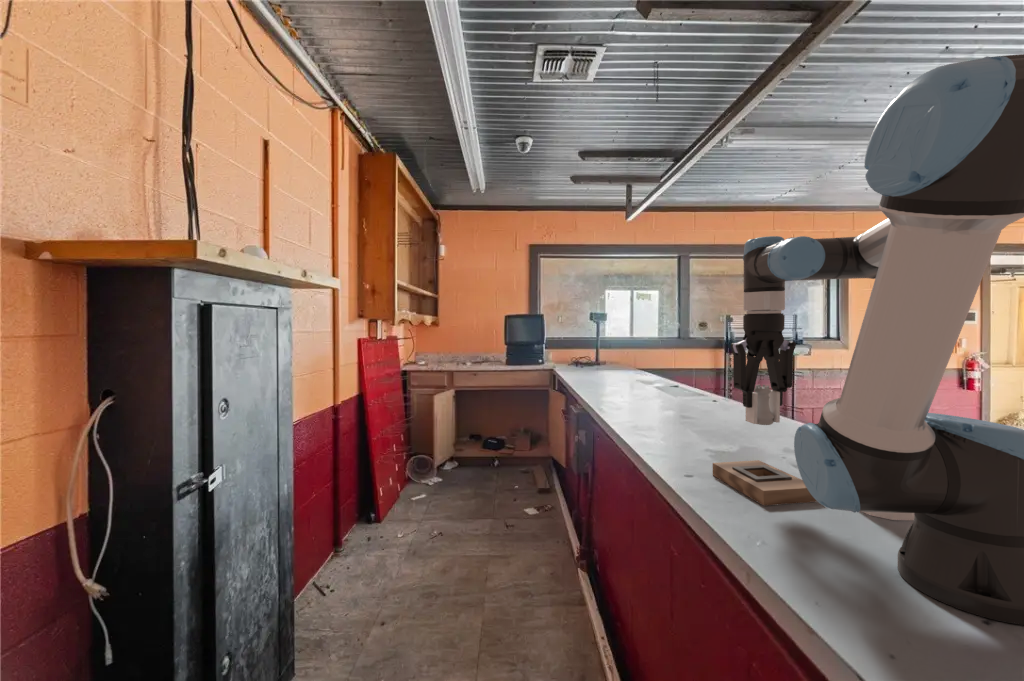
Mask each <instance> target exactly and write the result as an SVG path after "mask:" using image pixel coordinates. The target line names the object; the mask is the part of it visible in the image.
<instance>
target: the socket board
mask: <svg viewBox="0 0 1024 681" xmlns="http://www.w3.org/2000/svg"><path fill="white" fill-rule="evenodd" d="M712 476H713V477H715V478H717V479H719V480H720V481H722V482H723V483H725V484H727V485H728V486H730V487H731V488H734V489H735V490H737V491H738V492H740V493H742V494H744V495H745V496H747V497H749V498H750V499H752V500H753V501H755V502H757V503H759V504H760V505H762V506H773V505H774V506H775V505H776V506H777V504H778V505H791V504H805V503H819V502H818V501H816V500H815V499H814V498H813V496H812V495H811V494H810V492H809V491H808V489H807V488H806V486H805V484H804V482H803V480H802V478H799V477H797V476H795V475H792V474H790V473H788V472H785V471H784V470H782V469H779V468H777V467H774V466H773V465H770V464H768V463H766V462H763V461H762V460H758V459H757V460H756V459H755V460H754V459H753V460H742V461H741V460H740V461H739V460H738V461H723V462H712Z"/></svg>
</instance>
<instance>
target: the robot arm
mask: <svg viewBox="0 0 1024 681" xmlns="http://www.w3.org/2000/svg"><path fill="white" fill-rule="evenodd" d="M871 133H872V134H871V135H870V139H869V141H868V142H867V143H868V144H867V147H866V151H865V152H866V153H865V156H864V169H865V170H867V172H866V173H865V180H866V182H867V184H868V186H869V188H870V189H871V190H872V191H874V192H876V193H877V194H879V195H881V197H880V201H879V206H878V208H879V210H880V211H881V212H882V213H883V214H884V215H885V217H886V219H884V220H882V221H881V222H879V223H878V224H876V225H874V226H873V227H871V228H869V229H868V230H866V231H864V232H862V233H861V234H858V235H856V236H846V237H845V236H843V237H842V236H841V237H828V238H826V237H823V238H813V237H811V236H805V235H804V236H803V235H802V236H801V235H800V236H795V237H788V238H784V237H782V236H778V235H777V236H776V235H773V236H761V237H756V238H751V239H750V238H749V239H748V240H747V241H746V242H745V243H744V248H743V255H742V261H743V311H744V312H746V313H745V314H743V317H742V318H743V320H742V321H743V322H742V323H743V325H742V328H743V331H744V336H743V338H742V340H741V341H738V342H731V344H730V349H731V351H732V354H733V355H732V356H733V358H732V359H733V361H732V363H733V364H732V365H733V388H734V389H737V390H740V391H741V392H742V406H743V407H745V422H748V423H751V424H753V425H758V424H757V404H758V393H756V392H755V391H754V389H755V388H756V385H757V384H756V383H757V379H758V374H759V369H760V364H761V362H762V361H763V359H764V361H765V363H766V369H767V372H768V377H769V382H770V383H769V384H770V388H771V389H770V390H771V392H770V393H769V397H770V398H769V408H770V411H771V414H772V415H773V417H774V418H773V419H772V420H773V421H774V422H773V423H778V424H779V423H781V421H780V420H781V418H780V417H781V410H780V409H781V407H782V406H783V404H784V403H783V402H784V401H783V399H784V398H783V397H784V393H785V392H787V391H788V389H791V388H792V387H793V376H794V375H793V373H794V372H793V370H794V368H793V367H794V351H795V350H796V346H797V343H796V342H795V341H790V340H786V339H785V338H784V335H783V331H784V330H785V317H786V316H785V314H784V313H782V311H784V310H785V309H786V282H791V281H792V282H793V281H817V280H818V281H819V280H823V281H824V280H847V279H849V280H850V279H854V280H855V279H856V280H857V279H872V280H874V282H873V285H872V289H871V293H870V296H869V299H868V302H867V306H866V310H865V313H864V316H863V320H862V323H861V326H860V329H859V333H858V337H857V339H856V343H855V347H854V349H853V354H852V357H851V360H850V363H849V368H848V370H847V374H846V377H845V382H844V384H843V388H842V391H841V393H840V397H839V398H835V399H831V400H829V401H827V402H826V404H824V406H823V408H822V411H821V414H820V418H819V422H817V423H813V422H808V423H804V424H802V425H799V426H798V427H797V429H796V431H795V434H794V439H793V440H794V441H793V450H794V457H795V462H796V465H797V468H798V471H799V475H800V477H801V478H800V479H801V480H803V482H804V484H805V486H806V488H807V489H808V491H809V492H810V494H811V495H812V496H813V498H814V499H815V500H816V501H818V502H817V503H819V504H820V505H821V506H822V507H823V506H824V508H828V509H832V510H839V511H844V512H845V511H846V512H851V513H860V512H861V513H864V512H893V513H914V520H912V524H911V525H910V527H909V529H908V531H907V533H906V535H905V538H904V539H903V542H902V544H901V546H900V548H899V549H898V552H897V572H898V573H899V576H901V577H902V578H903V580H904V581H905V582H907V583H908V584H909V585H911V586H912V587H913V588H915V589H917V590H919V591H920V592H922V593H923V594H925V595H927V596H928V597H930V598H933V599H935V600H937V601H939V602H941V603H943V604H946V605H948V606H951V607H953V608H956V609H958V610H961V611H964V612H966V613H969V614H972V615H975V616H979V617H983V618H985V619H990V620H994V621H998V622H1002V623H1003V622H1004V623H1009V624H1013V625H1021V626H1024V429H1022V428H1019V427H1016V426H1012V425H1008V424H1003V423H998V422H997V423H996V422H994V421H989V420H988V421H987V420H981V419H978V418H977V419H976V418H970V417H963V416H957V415H951V414H946V413H945V414H943V413H937V412H936V413H935V412H929V411H930V409H931V406H932V403H933V402H934V399H935V396H936V394H937V392H938V390H939V386H940V383H941V381H942V380H943V377H944V374H945V372H946V369H947V367H948V364H949V361H950V359H951V357H952V355H953V352H954V349H955V347H956V345H957V341H958V339H959V337H960V334H961V331H962V329H963V327H964V324H965V322H966V320H967V317H968V314H969V313H970V310H971V307H972V304H973V302H974V299H975V297H976V294H977V293H978V289H979V288H980V284H981V282H982V279H983V278H984V275H985V272H986V269H987V268H988V265H989V262H990V260H991V258H992V255H993V252H994V250H995V247H996V245H997V243H998V241H999V238H1000V235H1001V233H1002V231H1003V230H1004V229H1005V228H1006V227H1008V226H1009V225H1011V224H1013V223H1015V222H1018V221H1019V220H1021V219H1024V53H1023V54H1019V53H1018V54H1010V55H1009V54H1008V55H996V56H987V55H986V56H984V57H981V58H977V59H971V60H965V61H959V62H952V63H949V64H944V65H941V66H940V65H939V66H938V67H935V68H932V69H930V70H928V71H926V72H924V73H922V74H921V75H919V76H917V77H916V78H915V79H914V80H912V81H911V82H910V83H909V84H907V85H905V87H903V89H902V90H901V91H900V93H899V94H898V95H897V96H896V97H894V98H893V99H892V100H891V102H890V103H889V105H888V106H887V107H886V109H885V110H884V112H882V114H881V115H880V117H879V119H878V121H877V123H876V125H875V127H874V128H873V131H872V132H871ZM746 351H747V352H746Z"/></svg>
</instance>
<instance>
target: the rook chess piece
mask: <svg viewBox="0 0 1024 681" xmlns="http://www.w3.org/2000/svg"><path fill="white" fill-rule="evenodd" d="M771 390H772V389H770V386H769V385H766V384H762V386H761V384H755V388H754V392H755V393H758V404H757V424H756V425H761V426H771V425H773V424H774V423H775V422H774V421H773V420H772V419H773V418H774V417H773V415H772V414H771V411H770V408H769V398H770V397H769V393H770V392H771Z"/></svg>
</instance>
